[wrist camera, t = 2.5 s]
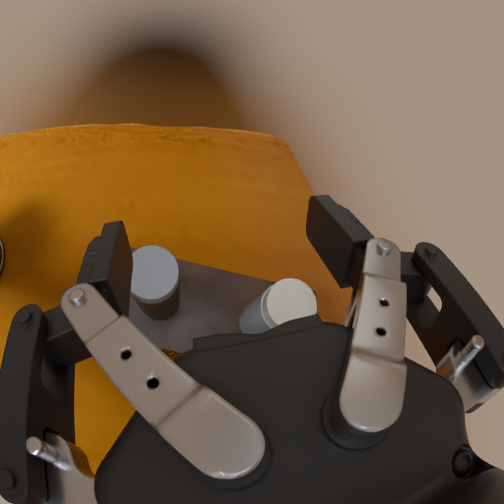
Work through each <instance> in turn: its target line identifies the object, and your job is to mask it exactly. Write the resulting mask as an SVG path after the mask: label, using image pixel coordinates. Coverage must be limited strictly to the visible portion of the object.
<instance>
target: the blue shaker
mask: <svg viewBox="0 0 504 504" xmlns="http://www.w3.org/2000/svg"><path fill="white" fill-rule="evenodd" d="M316 310H317V303H316V298H315V295H314V293H313V291H312V290H311V289H310V287H309V286H308V285H307V284H305V283H304V282H302V281H300V280H298V279H293V278H287V279H282V280H280V281H278V282H277V283H275V284H273V285H272V286H270V287H269V288H268V289H266V290H265V291H264V292H263V293H262V294H261V295H259V296H258V297H257V298H256V299H255V300H254V301H252V302H251V303H250V304H249V305H248V306H247V307H245V308H244V310H243V311H242V313H241V315H240V318H239V325H240V329H241V331H242V333H243V334H259V333H263V332H265V331H267V330H269V329H272V328H274V327H276V326H278V325H280V324H282V323H284V322H287V321H289V320H293V319H297V318H301V317H306V316H310V315H314V314H316Z"/></svg>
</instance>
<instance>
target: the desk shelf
mask: <svg viewBox="0 0 504 504" xmlns="http://www.w3.org/2000/svg"><path fill="white" fill-rule="evenodd" d="M130 248H131V247H130ZM136 250H137V249H135V248H131V251H132V253H133V252H134V251H136ZM176 261H177V263H178V267H179V272H180V304H179V308H178V310H177V311H176V313H175V314H174V315H173V316H172V317H170V318H168V319H166V320H154V319H151V318H149V317H148V316H147V315H145V313H144V312H143V311H142V309H141V308H140V306H139V305H138V304H137V302H136V301H135V299H134V298H133V296H132V295H131V293H130V305H129V320H130V321H131V322H132V323H133V324H134V325H135V326H136V327H137V328H138V329H139V330H140V331H141V332H142V333H143V334H144V335H145V336H146V337H147V338H148V339H149V340H150V341H151V342H152V343H154V344H155V345H156V346H157V347H158V348H160V349H164V350H168V351H172V352H176V353H181V354H182V353H184V352H185V351H187V350H190V349H192V348H193V341H192V338H198V337H204V336H210V335H216V334H222V333H239V334H243V333H242V331H241V329H240V325H239V318H240V315H241V313H242V311H243V310H244V308H245V307H247V306H248V305H249V304H250V303H251V302H252V301H254V300H255V299H256V298H257V297H258V296H259V295H261V294H262V293H263V292H264V291H265V290H266V289H268V288H269V287H270V286H272V285H273V284H275V283H276V282H271V281H267V280H262V279H258V278H254V277H249V276H245V275H241V274H236V273H232V272H228V271H224V270H219V269H215V268H211V267H207V266H203V265H199V264H194V263H190V262H186V261H182V260H178V259H176ZM313 293H314V295H315V296H316V291H313Z"/></svg>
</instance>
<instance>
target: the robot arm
mask: <svg viewBox="0 0 504 504" xmlns="http://www.w3.org/2000/svg"><path fill="white" fill-rule="evenodd" d="M306 234H307V237H308V239H309V241H310V242H311V244H312V245H313V247H314V248H315V250H316V251H317V253H318V254H319V256H320V257H321V259H322V260H323V262H324V263H325V265H326V266H327V268H328V269H329V271H330V273H331V274H332V276H333V277H334V279H335V280H336V282H337V283H338V285H339V286H340V288H341V289H342V288H346V287H351V286H352V288H353V291H352V294H351V297H350V302H349V306H348V311H347V315H346V319H345V323H344V325H340V324H335V323H327V322H322V321H321V319H320V317H319V315H318V314H314V315H310V316H306V317H301V318H297V319H293V320H289V321H287V322H284V323H282V324H280V325H278V326H276V327H274V328H272V329H269V330H267V331H265V332H263V333H259V334H239V333H222V334H216V335H210V336H204V337H198V338H192V341H193V348H192V349H190V350H187V351H185V352H184V353H182V354H180V355H179V356H177V357H176V358H174V359H173V360H171V359H170V358H169V357H168V356H166V355H165V354H164V353H163V352H162V351H161V350H160V349H159V348H158V347H157V346H156V345H155V344H154V343H152V342H151V341H150V340H149V339H148V338H147V337H146V336H145V335H144V334H143V333H142V332H141V331H140V330H139V329H138V328H137V327H136V326H135V325H134V324H133V323H132V322H131V321H130V320H129V305H130V292H131V281H132V271H133V256H132V251H131V248H130V244H129V241H128V237H127V234H126V230H125V227H124V224H123V222H122V221H116V222H110V223H105V224H104V227H103V230H102V233H101V236H99V237H95V238H94V239H93V240H92V241H91V243H90V244H89V245H88V247H87V250H86V253H85V256H84V259H83V263H82V266H81V269H80V272H79V276H78V279H77V283H76V285H74V286H72V287H71V288H69V289H68V290H67V291H66V292H65V293H64V295H63V296H62V298H61V302H60V305H59V306H57V307H55V308H52V309H50V310H48V311H45V312H42V310H41V309H40V307H39V306H38V305H36V304H29V305H26V306H24V307H22V308H21V309H20V310H19V311H18V312H17V313H16V314H15V316H14V317H13V320H12V323H11V327H10V330H9V334H8V338H7V342H6V346H5V350H4V355H3V359H2V364H1V369H0V495H1V496H2V497H3V498H4V499H5V500H6V501H8V502H10V503H12V504H504V471H503V470H502V469H499V468H497V467H494V466H492V465H490V464H488V463H487V462H485V461H483V460H482V459H481V458H479V457H478V456H477V455H476V454H475V453H474V452H473V450H472V449H471V447H470V445H469V442H468V437H467V433H466V426H465V414H464V413H471V412H473V411H475V410H476V409H478V408H479V407H480V406H481V405H483V404H484V403H485V402H486V401H488V400H489V399H490V398H491V397H493V396H494V395H495V394H496V393H497V392H499V390H501V389H502V388H503V387H504V328H503V327H502V325H501V324H500V322H499V321H498V320H497V318H496V317H495V316H494V314H493V313H492V311H491V310H490V309H489V307H488V306H487V305H486V303H485V302H484V301H483V299H482V298H481V297H480V295H479V294H478V293H477V292H476V290H474V288H473V287H472V285H470V283H469V282H468V281H467V279H466V278H465V277H464V276H463V275H462V273H461V272H460V271H459V270H458V269H457V268H456V266H455V265H454V264H453V263H452V262H451V261H450V260H449V259H448V258H447V256H446V255H445V254H444V253H443V252H442V251H441V250H440V249H439V248H438V247H436V246H435V245H433V244H430V243H426V242H421V243H418V244H417V245H416V248H415V250H414V253H413V252H401V251H400V250H399V248H398V247H397V246H396V245H395V244H394V243H392V242H391V241H389V240H386V239H383V238H375V237H374V236H373V235H372V234H371V233H370V232H369V231H368V230H367V229H366V227H365V226H364V225H363V224H362V223H360V221H359V220H358V219H357V218H355V216H354V215H353V214H352V213H351V212H350V211H349V210H348V209H346V208H344V207H343V206H341V205H337V203H336V202H335V201H333V199H332V198H331V197H330V196H329V195H319V196H311V197H310V199H309V206H308V214H307V222H306ZM4 258H5V253H4V247H3V244H2V241H1V240H0V275H1V272H2V269H3V265H4ZM431 287H433V288H434V290H435V291H436V292H437V294H438V295H439V296H440V298H441V301H442V308H441V311H440V312H439V311H438V310H437V308H436V307H435V305H434V304H433V302H432V301H431V300H430V298H429V297H428V296H427V294H428V293H429V291H430V289H431ZM406 318H407V319H408V321H409V322H410V324H411V325H412V327H413V329H414V330H415V332H416V334H417V335H418V337H419V339H420V340H421V342H422V343H423V345H424V347H425V349H426V351H427V352H428V354H429V356H430V357H431V359H432V361H433V363H434V364H435V366H436V373H435V372H433V371H431V370H429V369H427V368H425V367H423V366H422V365H420V364H418V363H416V362H413V361H412V360H410V359H408V358H406V357H404V346H405V332H406ZM92 356H93V357H94V358H95V360H96V361H97V362H98V364H99V365H100V366H101V368H102V369H103V370H104V372H105V373H106V374H107V375H108V377H109V378H110V379H111V380H112V382H113V383H114V384H115V385H116V387H117V388H118V389H119V390H120V391H121V393H122V394H123V395H124V396H125V397H126V398H127V400H128V401H129V402H130V403H131V404H132V405H133V406H134V407H135V409H136V411H135V413H134V414H133V416H132V417H131V419H130V420H129V422H128V423H127V425H126V426H125V428H124V429H123V431H122V432H121V434H120V435H119V437H118V438H117V440H116V441H115V443H114V444H113V446H112V447H111V449H110V450H109V452H108V453H107V455H106V456H105V458H104V459H103V461H102V462H101V464H100V465H99V467H98V469H97V471H96V474H95V475H94V474H93V472H92V470H91V468H90V466H89V462H88V459H87V456H86V455H85V453H84V452H83V450H81V449H80V448H79V447H78V446H76V445H75V427H74V380H75V363H77V362H80V361H82V360H85V359H87V358H90V357H92Z"/></svg>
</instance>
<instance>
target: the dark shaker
mask: <svg viewBox="0 0 504 504" xmlns="http://www.w3.org/2000/svg"><path fill="white" fill-rule="evenodd" d="M132 256H133V271H132V281H131V292H130V293H131V295H132V296H133V298H134V299H135V301H136V302H137V304H138V305H139V306H140V308H141V309H142V311H143V312H144V313H145V315H147V316H148V317H149V318H151V319H154V320H166V319H168V318H170V317H172V316H173V315H174V314H175V313H176V311H177V310H178V308H179V304H180V272H179V267H178V263H177V261H176V259H175V257H174V256H173V255H172V254H171V253H170V252H169V251H168V250H166V249H165V248H162V247H159V246H153V245H150V246H144V247H141V248H139V249H137V250H136V251H134V252H133V253H132Z"/></svg>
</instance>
